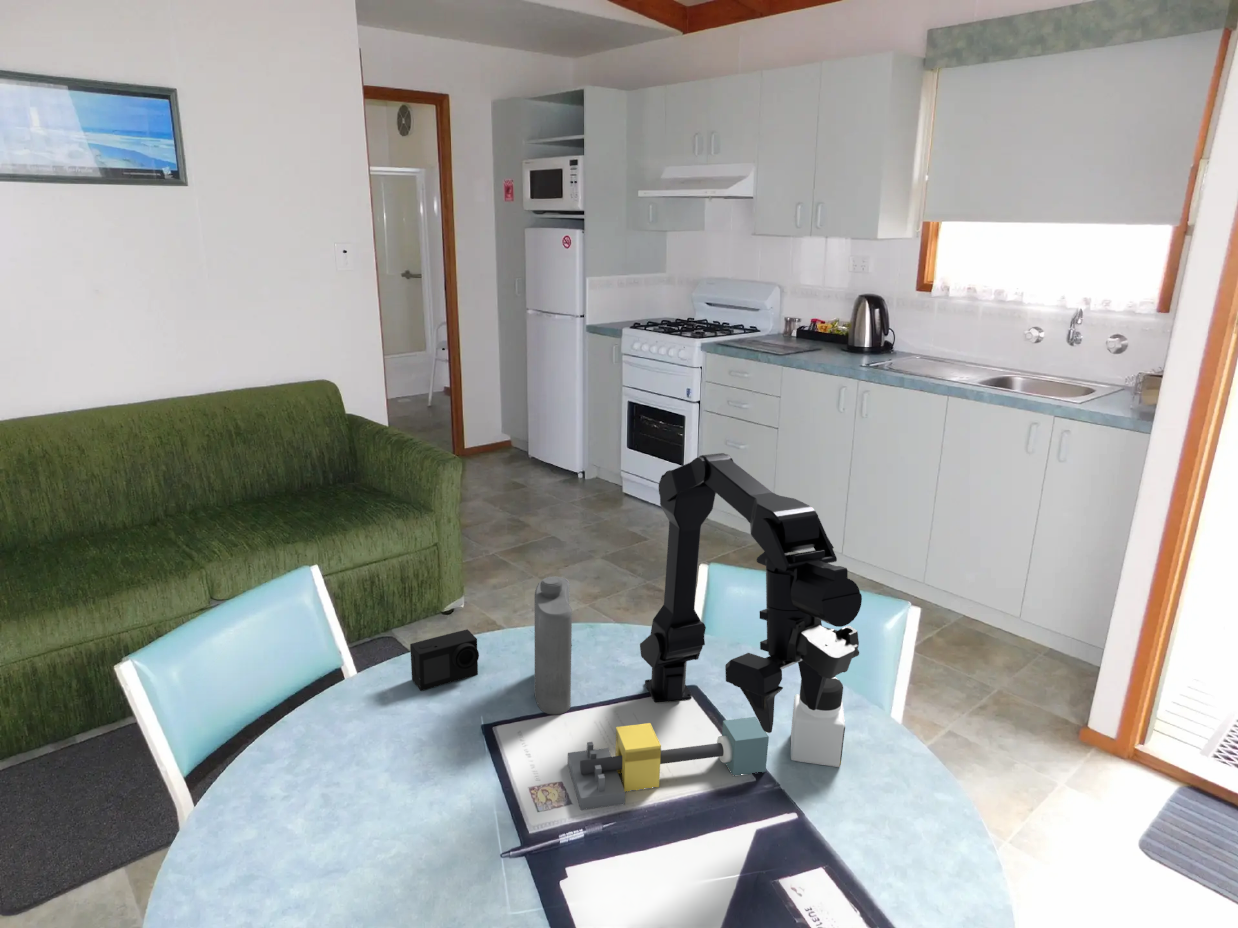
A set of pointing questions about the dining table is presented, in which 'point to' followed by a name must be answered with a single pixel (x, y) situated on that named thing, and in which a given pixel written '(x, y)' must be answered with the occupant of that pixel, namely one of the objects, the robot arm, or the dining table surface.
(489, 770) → the dining table surface
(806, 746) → the medicine bottle
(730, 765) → the dark grey rod
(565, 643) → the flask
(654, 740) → the sleeve
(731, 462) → the robot arm
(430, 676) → the digital camera
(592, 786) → the grey pronged block
